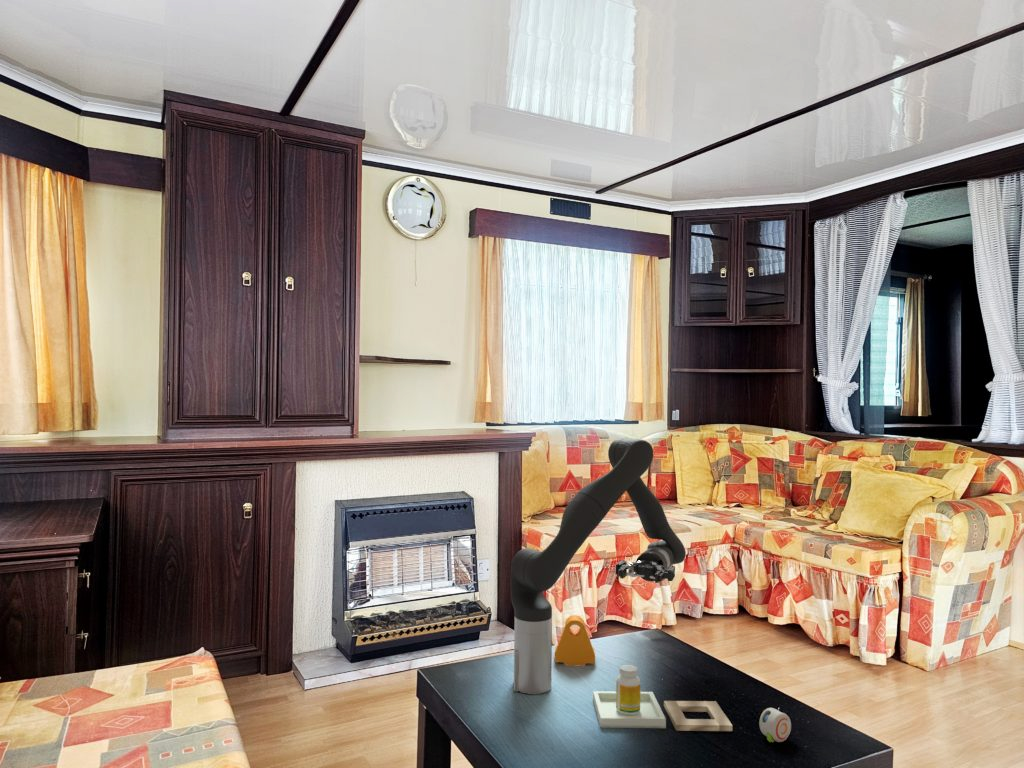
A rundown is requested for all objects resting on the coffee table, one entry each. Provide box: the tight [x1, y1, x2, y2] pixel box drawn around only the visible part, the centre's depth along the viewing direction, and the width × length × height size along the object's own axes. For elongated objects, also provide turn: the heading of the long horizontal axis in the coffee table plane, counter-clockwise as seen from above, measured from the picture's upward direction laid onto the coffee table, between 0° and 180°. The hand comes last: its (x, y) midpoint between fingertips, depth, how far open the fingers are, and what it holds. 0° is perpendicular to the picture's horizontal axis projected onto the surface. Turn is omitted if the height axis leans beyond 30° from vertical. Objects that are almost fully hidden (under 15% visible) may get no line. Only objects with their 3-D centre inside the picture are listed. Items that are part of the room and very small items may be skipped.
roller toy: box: [758, 707, 792, 743], centre depth 145 cm, size 4×6×6 cm
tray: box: [592, 690, 667, 729], centre depth 156 cm, size 14×14×2 cm
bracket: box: [554, 614, 596, 667], centre depth 188 cm, size 11×7×12 cm, turn 85°
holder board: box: [663, 700, 733, 732], centre depth 154 cm, size 12×12×1 cm
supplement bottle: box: [615, 664, 642, 715], centre depth 156 cm, size 5×5×10 cm
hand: (638, 576), depth 167 cm, fingers open, 8 cm apart
